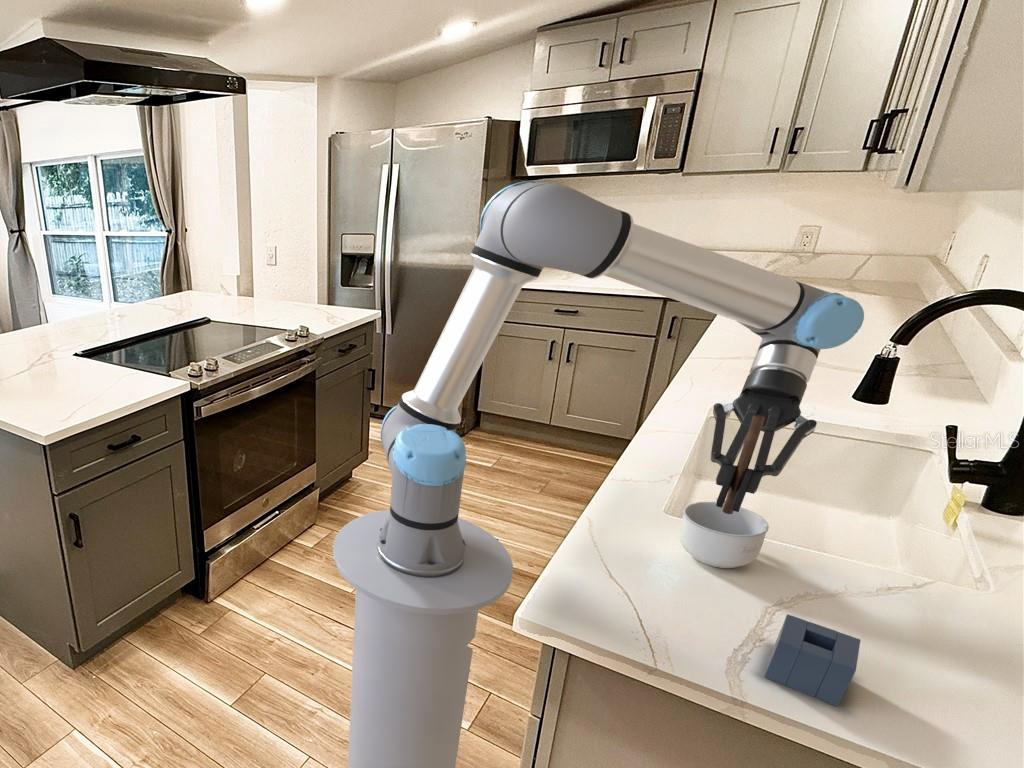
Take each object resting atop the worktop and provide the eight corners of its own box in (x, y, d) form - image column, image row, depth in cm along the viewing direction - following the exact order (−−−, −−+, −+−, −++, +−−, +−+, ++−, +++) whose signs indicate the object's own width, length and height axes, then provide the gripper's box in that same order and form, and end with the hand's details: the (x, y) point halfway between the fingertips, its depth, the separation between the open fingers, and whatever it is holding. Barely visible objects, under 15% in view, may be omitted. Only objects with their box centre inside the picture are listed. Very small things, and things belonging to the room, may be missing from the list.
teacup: (750, 585, 95) (766, 542, 92) (667, 560, 102) (679, 519, 99) (758, 545, 105) (773, 505, 101) (681, 524, 111) (693, 486, 108)
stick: (721, 512, 100) (752, 416, 93) (723, 509, 101) (754, 413, 94) (731, 515, 99) (764, 418, 92) (733, 512, 100) (765, 416, 93)
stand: (764, 677, 79) (778, 641, 77) (772, 648, 83) (787, 613, 81) (837, 707, 74) (856, 670, 72) (843, 675, 79) (860, 639, 76)
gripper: (833, 399, 98) (784, 530, 94) (721, 381, 107) (673, 499, 104) (842, 375, 92) (790, 514, 89) (723, 359, 102) (673, 483, 99)
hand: (727, 506), depth 96 cm, fingers closed on stick
